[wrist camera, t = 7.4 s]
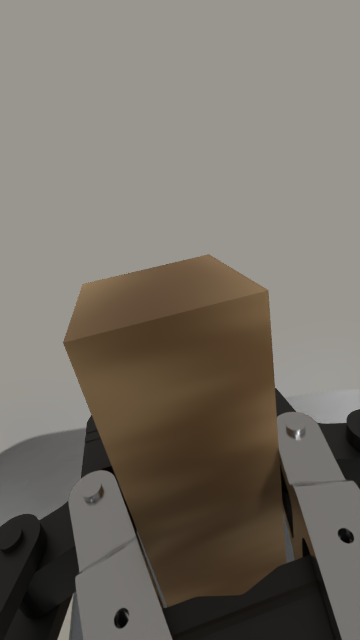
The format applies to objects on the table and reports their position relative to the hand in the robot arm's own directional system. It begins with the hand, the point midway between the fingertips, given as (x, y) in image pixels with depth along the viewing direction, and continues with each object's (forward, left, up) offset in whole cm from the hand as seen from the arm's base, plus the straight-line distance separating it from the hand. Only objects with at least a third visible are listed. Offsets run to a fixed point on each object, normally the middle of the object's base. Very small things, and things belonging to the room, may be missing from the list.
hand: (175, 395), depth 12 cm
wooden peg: (+1, -3, -9) cm, 9 cm away
